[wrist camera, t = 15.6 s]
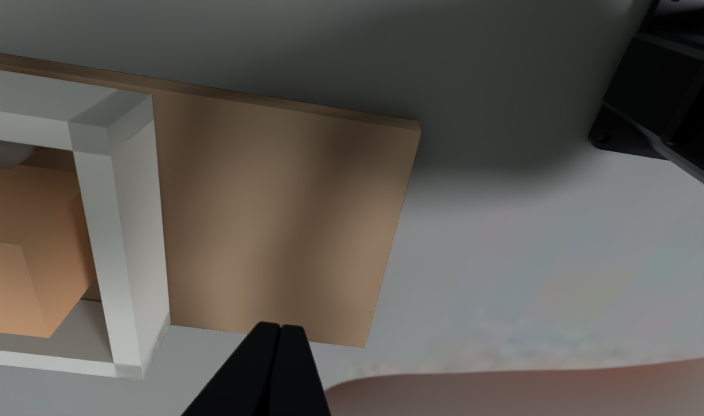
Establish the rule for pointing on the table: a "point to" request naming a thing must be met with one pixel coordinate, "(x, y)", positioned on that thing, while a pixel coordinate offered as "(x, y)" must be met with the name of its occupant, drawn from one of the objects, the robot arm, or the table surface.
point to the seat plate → (260, 202)
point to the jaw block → (41, 249)
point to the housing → (99, 223)
